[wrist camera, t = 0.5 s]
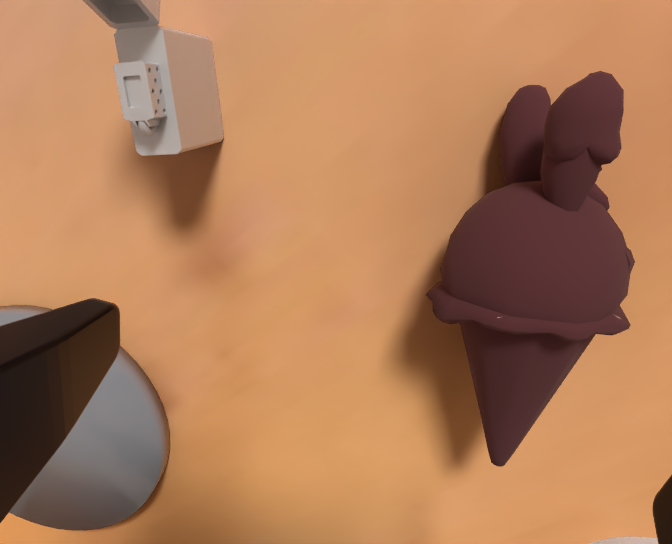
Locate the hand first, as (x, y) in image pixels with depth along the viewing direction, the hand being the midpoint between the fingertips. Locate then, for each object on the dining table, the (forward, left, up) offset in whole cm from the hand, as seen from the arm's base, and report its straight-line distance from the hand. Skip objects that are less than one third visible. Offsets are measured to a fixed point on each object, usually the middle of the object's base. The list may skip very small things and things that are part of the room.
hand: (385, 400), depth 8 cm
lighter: (+2, +11, -15) cm, 18 cm away
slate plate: (-20, +12, -15) cm, 27 cm away
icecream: (0, -5, -15) cm, 16 cm away
